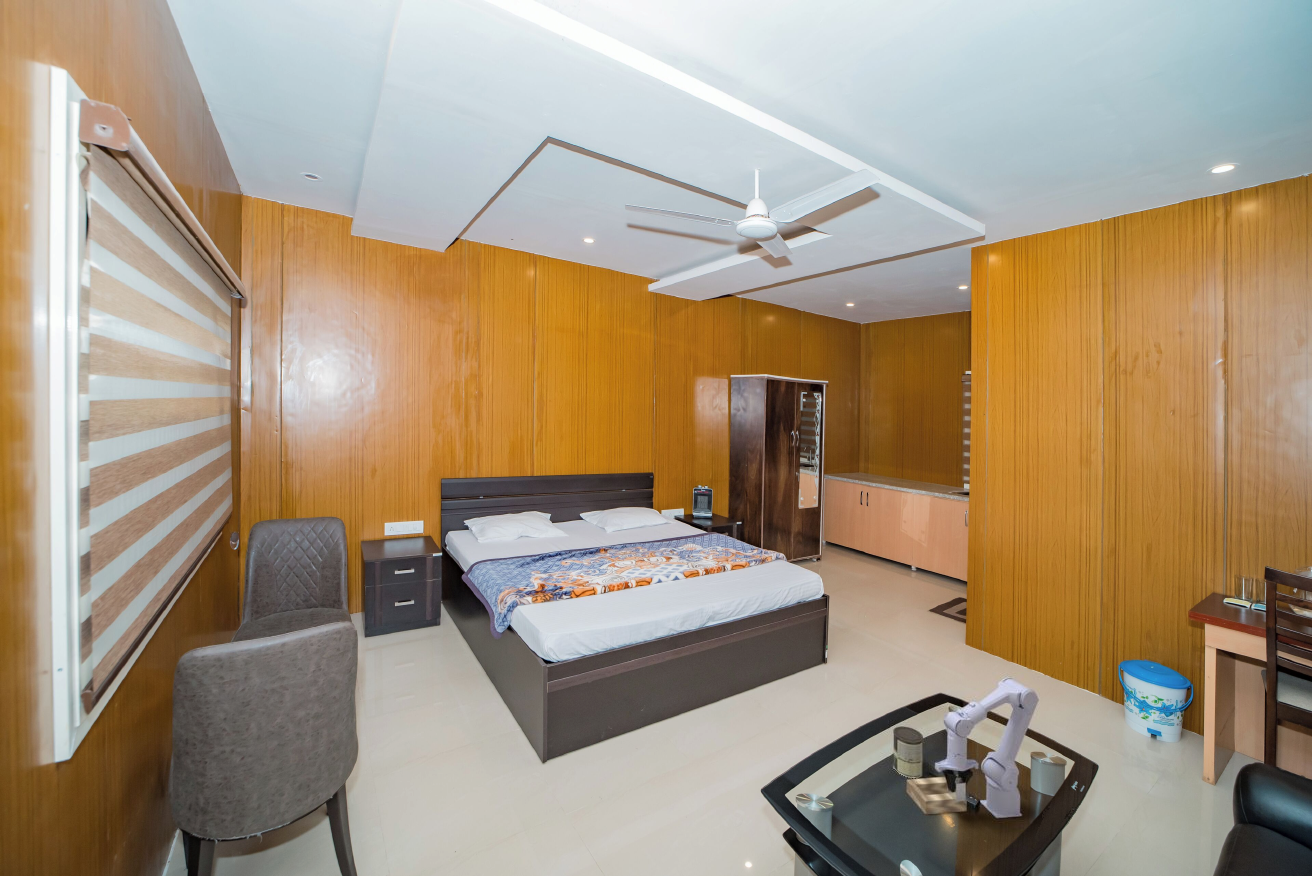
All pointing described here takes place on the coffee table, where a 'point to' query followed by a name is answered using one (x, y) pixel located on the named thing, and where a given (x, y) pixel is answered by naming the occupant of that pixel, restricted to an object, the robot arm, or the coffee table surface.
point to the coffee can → (908, 752)
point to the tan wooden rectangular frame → (934, 796)
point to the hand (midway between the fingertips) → (956, 789)
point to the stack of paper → (958, 790)
